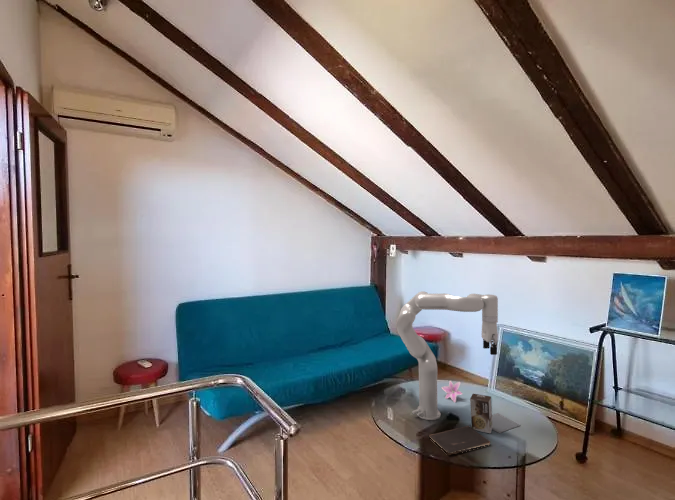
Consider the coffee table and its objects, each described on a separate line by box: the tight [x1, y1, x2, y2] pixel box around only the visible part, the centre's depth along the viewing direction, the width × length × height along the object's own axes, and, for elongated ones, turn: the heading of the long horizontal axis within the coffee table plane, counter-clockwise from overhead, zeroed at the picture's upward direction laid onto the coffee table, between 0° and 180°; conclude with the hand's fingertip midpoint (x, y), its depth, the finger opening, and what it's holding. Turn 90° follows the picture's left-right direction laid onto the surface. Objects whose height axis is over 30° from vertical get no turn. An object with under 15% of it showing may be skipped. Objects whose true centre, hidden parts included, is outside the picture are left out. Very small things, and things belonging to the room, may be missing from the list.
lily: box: [441, 380, 463, 403], centre depth 223 cm, size 12×12×10 cm
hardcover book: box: [428, 425, 491, 453], centre depth 178 cm, size 16×23×2 cm
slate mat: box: [492, 412, 522, 434], centre depth 194 cm, size 15×14×1 cm
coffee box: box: [469, 393, 493, 434], centre depth 188 cm, size 9×6×16 cm
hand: (489, 351), depth 196 cm, fingers open, 9 cm apart
